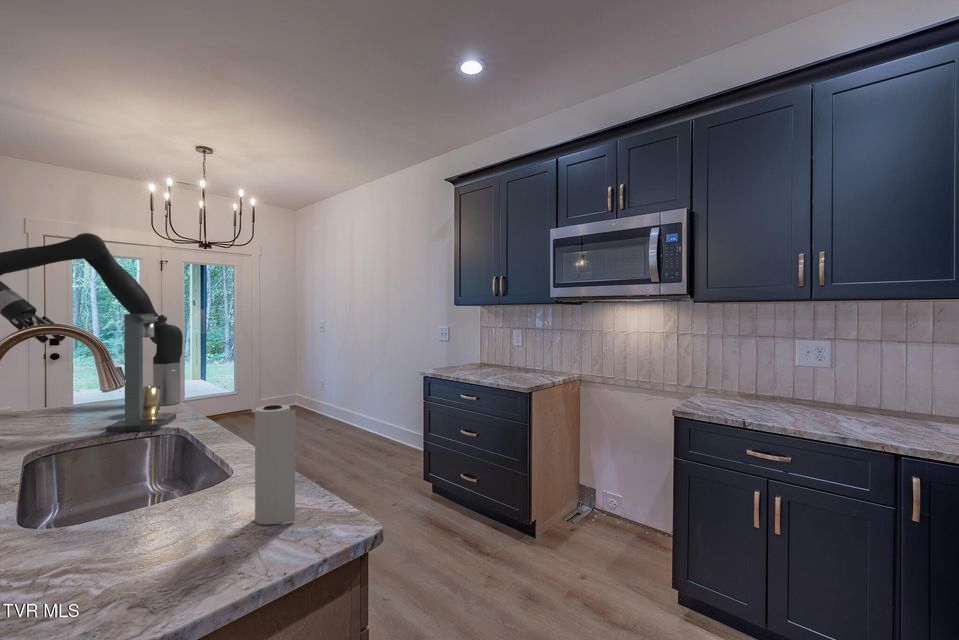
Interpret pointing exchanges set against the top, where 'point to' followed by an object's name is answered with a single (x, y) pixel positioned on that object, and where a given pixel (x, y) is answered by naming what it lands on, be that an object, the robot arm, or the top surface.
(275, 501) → the paper towel roll
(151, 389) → the cylinder
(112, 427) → the press
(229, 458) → the top surface
